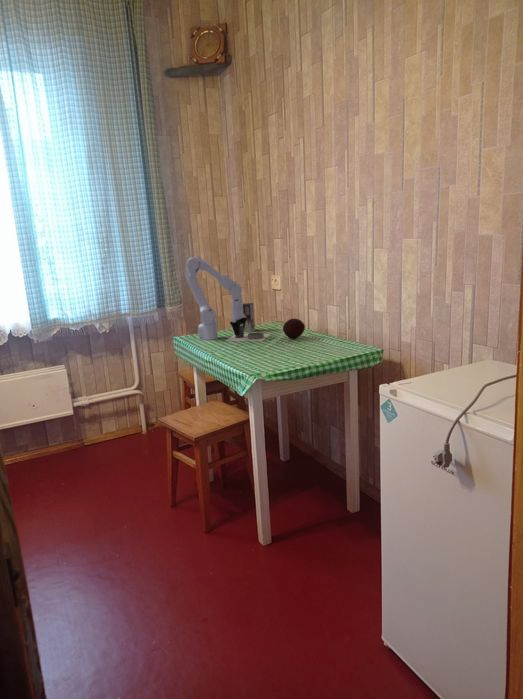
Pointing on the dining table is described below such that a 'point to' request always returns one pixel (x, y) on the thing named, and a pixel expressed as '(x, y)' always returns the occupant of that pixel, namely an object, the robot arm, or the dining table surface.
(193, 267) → the robot arm
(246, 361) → the dining table surface
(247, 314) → the coffee box
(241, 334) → the lens
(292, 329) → the coconut
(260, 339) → the mount board
